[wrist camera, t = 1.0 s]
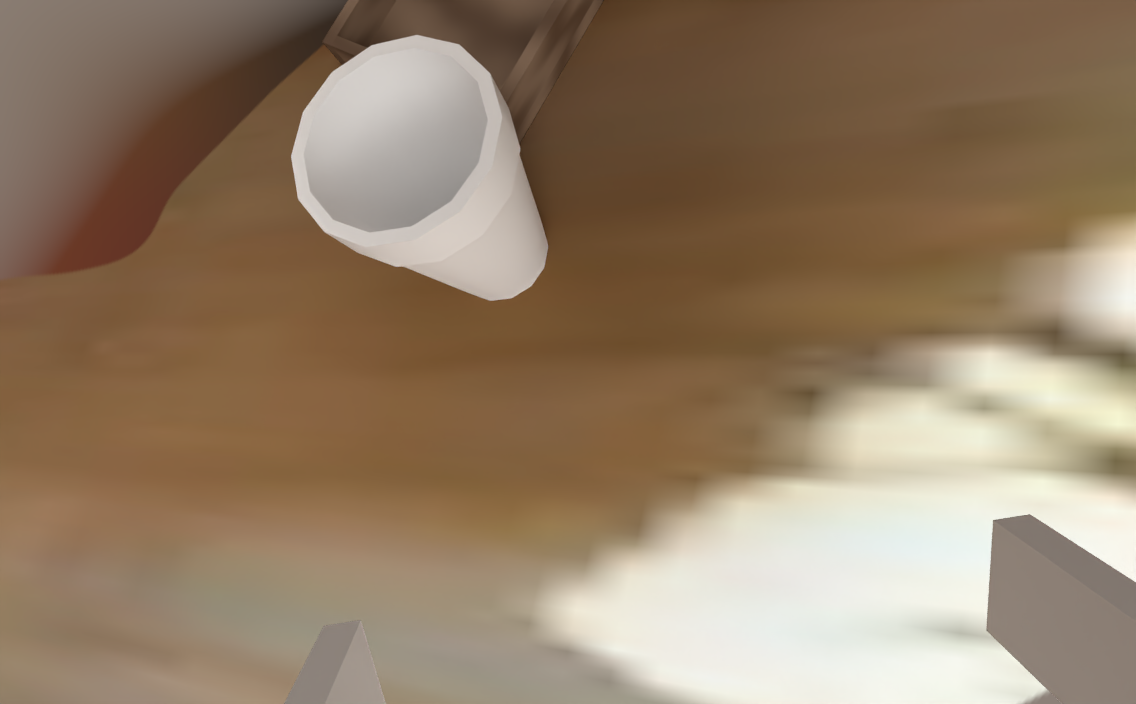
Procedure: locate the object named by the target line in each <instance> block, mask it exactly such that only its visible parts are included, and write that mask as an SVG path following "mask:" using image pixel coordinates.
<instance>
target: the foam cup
mask: <svg viewBox="0 0 1136 704" xmlns="http://www.w3.org/2000/svg"><path fill="white" fill-rule="evenodd" d="M519 154H520V145H519V142H518V138H517V135H516V131H515V128H514V124H513V121H512V117H511V114H510V110H509V108H508V106H507V104H506V102H505V100H504V98H503V96H502V95H501V93H500V91H499V89H498V87H497V85H496V83H495V81H494V80H493V78H492V76H491V74H490V73H489V72H488V71H487V70H486V69H485V68H484V67H483V66H482V65H481V64H480V63H479V62H478V61H476V60H475V59H474V58H473V57H472V56H471V55H470V54H469V53H468V52H467V51H466V50H465V49H464V48H463V47H461V46H460V45H459V44H455V43H451V42H446V41H442V40H437V39H433V38H429V37H424V36H420V35H414V36H410V37H405V38H401V39H397V40H392V41H388V42H383V43H379V44H375V45H371V46H370V47H368V48H367V49H365V50H364V51H362V52H361V53H360V54H358V55H357V56H355V57H354V58H352V59H351V60H349V61H348V62H346V63H345V64H343V65H342V66H340V67H339V68H337V69H336V70H334V71H333V72H332V73H331V74H330V75H329V77H328V78H327V80H326V81H325V82H324V84H323V85H322V86H321V88H320V89H319V91H318V92H317V93H316V95H315V96H314V97H313V99H312V100H311V102H310V103H309V104H308V106H307V107H306V109H305V110H304V111H303V114H302V118H301V122H300V125H299V129H298V133H297V137H296V140H295V144H294V148H293V151H292V155H291V159H292V165H293V171H294V177H295V183H296V189H297V195H298V200H299V201H300V202H301V203H302V205H303V206H304V207H305V208H306V210H307V211H308V212H309V213H310V215H311V216H312V217H313V218H314V220H315V221H316V222H317V223H318V225H319V226H320V227H321V228H322V230H323V231H324V232H325V233H327V234H329V235H330V236H332V237H333V238H335V239H337V240H338V241H340V242H341V243H343V244H345V245H346V246H348V247H349V248H351V249H353V250H354V251H356V252H357V253H360V254H363V255H365V256H368V257H371V258H373V259H376V260H379V261H382V262H384V263H387V264H390V265H392V266H395V267H400V266H403V267H406V268H408V269H411V270H413V271H415V272H418V273H420V274H423V275H425V276H428V277H430V278H433V279H435V280H438V281H440V282H443V283H445V284H448V285H450V286H452V287H455V288H457V289H460V290H462V291H465V292H467V293H470V294H473V295H476V296H478V297H481V298H484V299H487V300H489V301H492V300H501V299H509V298H513V297H514V296H516V295H518V294H519V293H521V292H523V291H524V290H526V289H528V288H529V287H531V286H532V284H533V283H534V282H535V280H536V279H537V277H538V276H539V274H540V273H541V272H542V270H543V269H544V266H545V261H546V256H547V250H548V243H547V239H546V236H545V232H544V229H543V225H542V222H541V219H540V216H539V213H538V210H537V207H536V203H535V200H534V197H533V194H532V191H531V188H530V185H529V182H528V179H527V176H526V173H525V170H524V167H523V164H522V161H521V158H520V155H519Z"/></svg>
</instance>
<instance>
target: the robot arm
mask: <svg viewBox="0 0 1136 704" xmlns="http://www.w3.org/2000/svg"><path fill="white" fill-rule="evenodd" d="M987 631H988V632H989V633H990V634H991V635H992V636H993V637H994V638H995V639H996V640H997V641H998V642H999V643H1000V644H1001V645H1002V646H1003V647H1004V648H1005V649H1006V650H1007V651H1008V652H1009V653H1010V654H1011V655H1012V656H1013V657H1014V658H1015V659H1017V660H1018V661H1019V662H1020V663H1021V664H1022V665H1023V666H1024V667H1025V668H1026V669H1027V670H1028V671H1029V672H1030V673H1031V674H1032V675H1033V676H1034V677H1035V678H1036V679H1037V680H1038V681H1039V682H1040V683H1041V684H1042V685H1043V686H1044V687H1045V688H1046V689H1048V690H1049V691H1050V692H1051V693H1052V694H1053V695H1054V696H1055V697H1056V698H1057V699H1058V700H1059V701H1060V702H1061V703H1062V704H1136V582H1134V581H1133V580H1131V579H1129V578H1128V577H1126V576H1125V575H1123V574H1122V573H1120V572H1119V571H1117V570H1115V569H1114V568H1112V567H1111V566H1109V565H1108V564H1106V563H1105V562H1103V561H1101V560H1100V559H1098V558H1097V557H1095V556H1094V555H1092V554H1091V553H1089V552H1087V551H1086V550H1084V549H1083V548H1081V547H1080V546H1078V545H1077V544H1075V543H1074V542H1072V541H1070V540H1069V539H1067V538H1066V537H1064V536H1063V535H1061V534H1060V533H1058V532H1056V531H1055V530H1053V529H1052V528H1050V527H1049V526H1047V525H1046V524H1044V523H1042V522H1041V521H1039V520H1038V519H1036V518H1035V517H1033V516H1032V515H1030V514H1029V515H1023V516H1017V517H1010V518H1004V519H998V520H993V532H992V548H991V565H990V581H989V597H988V613H987ZM284 704H386V703H385V700H384V696H383V693H382V690H381V686H380V683H379V680H378V676H377V673H376V669H375V666H374V663H373V659H372V656H371V653H370V649H369V646H368V642H367V639H366V636H365V632H364V629H363V625H362V622H361V620H358V621H352V622H345V623H339V624H333V625H326V626H323V628H322V630H321V632H320V634H319V636H318V638H317V640H316V642H315V644H314V646H313V648H312V650H311V652H310V654H309V656H308V658H307V660H306V662H305V664H304V666H303V668H302V670H301V671H300V673H299V675H298V677H297V679H296V681H295V683H294V685H293V687H292V689H291V691H290V693H289V695H288V697H287V699H286V701H285V703H284Z"/></svg>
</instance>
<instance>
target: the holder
mask: <svg viewBox="0 0 1136 704" xmlns="http://www.w3.org/2000/svg"><path fill="white" fill-rule="evenodd" d="M602 2H603V0H348V1H347V3H346V4H345V6H344V8H343V9H342V11H341V12H340V14H339V16H338V17H337V19H336V20H335V22H334V24H333V26H332V27H331V28H330V30H329V32H328V33H327V35H326V37H325V38H324V40H323V41H322V42H323V44H324V45H325V46H326V47H327V48H328V49H329V50H330V51H331V53H332V54H333V55H334V56H335V57H336V58H337V59H338V60H339V62H340V63H341V64H342V65H343V64H345V63H346V62H348V61H349V60H351V59H352V58H354V57H355V56H357V55H358V54H360V53H361V52H362V51H364V50H365V49H367V48H368V47H370V46H371V45H375V44H379V43H383V42H388V41H392V40H397V39H401V38H405V37H410V36H414V35H420V36H424V37H429V38H433V39H437V40H442V41H446V42H451V43H455V44H459V45H460V46H461V47H463V48H464V49H465V50H466V51H467V52H468V53H469V54H470V55H471V56H472V57H473V58H474V59H475V60H476V61H478V62H479V63H480V64H481V65H482V66H483V67H484V68H485V69H486V70H487V71H488V72H489V73H490V74H491V76H492V78H493V80H494V81H495V83H496V85H497V87H498V89H499V91H500V93H501V95H502V96H503V98H504V100H505V102H506V104H507V106H508V108H509V110H510V114H511V117H512V121H513V124H514V128H515V131H516V135H517V138H518V142H519V144H520V142H521V140H522V138H523V137H524V135H525V133H526V132H527V130H528V128H529V127H530V125H531V123H532V121H533V120H534V118H535V116H536V115H537V113H538V111H539V109H540V108H541V106H542V104H543V103H544V101H545V99H546V98H547V96H548V94H549V92H550V91H551V89H552V87H553V86H554V84H555V82H556V80H557V79H558V77H559V75H560V74H561V72H562V70H563V69H564V67H565V65H566V63H567V62H568V60H569V58H570V57H571V55H572V53H573V51H574V50H575V48H576V46H577V45H578V43H579V41H580V40H581V38H582V36H583V34H584V33H585V31H586V29H587V28H588V26H589V24H590V22H591V21H592V19H593V17H594V16H595V14H596V12H597V11H598V9H599V7H600V5H601V4H602Z"/></svg>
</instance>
